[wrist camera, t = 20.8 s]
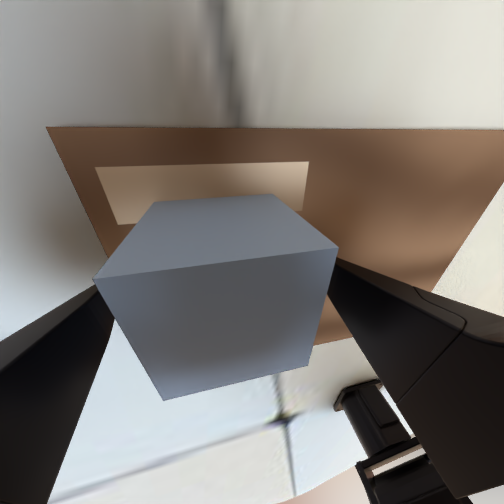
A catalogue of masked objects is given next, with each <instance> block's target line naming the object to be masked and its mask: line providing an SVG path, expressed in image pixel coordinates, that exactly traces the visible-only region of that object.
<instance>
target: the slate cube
mask: <svg viewBox="0 0 504 504" xmlns="http://www.w3.org/2000/svg"><path fill="white" fill-rule="evenodd" d="M338 249H339V247H338V246H337V245H335V244H334V243H333V242H332V241H330V240H329V239H328V238H327V237H326V236H324V235H323V234H322V233H321V232H319V231H318V230H317V229H316V228H314V227H313V226H312V225H311V224H309V223H308V222H307V221H306V220H304V219H303V218H302V217H301V216H300V215H298V214H297V213H296V212H295V211H293V210H292V209H291V208H290V207H288V206H287V205H286V204H285V203H283V202H282V201H281V200H280V199H278V198H277V197H276V196H275V195H274V194H261V195H246V196H231V197H217V198H202V199H188V200H173V201H158V202H154V203H153V204H152V205H151V206H150V208H149V209H148V210H147V211H146V213H145V214H144V215H143V216H142V218H141V219H140V220H139V221H138V223H137V224H136V225H135V226H134V228H133V229H132V230H131V231H130V233H129V234H128V235H127V236H126V238H125V239H124V240H123V241H122V243H121V244H120V245H119V246H118V248H117V249H116V250H115V251H114V253H113V254H112V255H111V256H110V258H109V259H108V260H107V261H106V263H105V264H104V265H103V266H102V268H101V269H100V270H99V271H98V273H97V274H96V275H95V276H94V278H93V279H92V280H93V281H94V283H95V285H96V287H97V288H98V290H99V292H100V293H101V295H102V297H103V299H104V300H105V302H106V304H107V305H108V307H109V309H110V311H111V312H112V314H113V316H114V317H115V319H116V321H117V323H118V324H119V326H120V328H121V329H122V331H123V333H124V335H125V336H126V338H127V340H128V341H129V343H130V345H131V346H132V348H133V350H134V352H135V353H136V355H137V357H138V358H139V360H140V362H141V364H142V365H143V367H144V369H145V370H146V372H147V374H148V376H149V377H150V379H151V381H152V382H153V384H154V386H155V388H156V389H157V391H158V393H159V394H160V396H161V398H162V400H163V401H165V400H169V399H173V398H177V397H181V396H185V395H189V394H194V393H198V392H202V391H206V390H210V389H214V388H218V387H222V386H226V385H230V384H234V383H239V382H243V381H247V380H251V379H255V378H259V377H263V376H267V375H271V374H275V373H279V372H284V371H288V370H292V369H296V368H300V367H304V366H308V363H309V359H310V355H311V351H312V348H313V344H314V340H315V336H316V332H317V329H318V325H319V321H320V317H321V314H322V310H323V306H324V302H325V298H326V295H327V291H328V287H329V283H330V280H331V276H332V272H333V268H334V264H335V261H336V257H337V253H338Z"/></svg>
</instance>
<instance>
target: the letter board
mask: <svg viewBox="0 0 504 504" xmlns="http://www.w3.org/2000/svg"><path fill="white" fill-rule="evenodd" d="M46 129H47V131H48V133H49V135H50V137H51V139H52V141H53V143H54V146H55V148H56V150H57V152H58V154H59V156H60V158H61V160H62V162H63V164H64V167H65V169H66V171H67V173H68V175H69V177H70V179H71V181H72V183H73V185H74V187H75V190H76V192H77V194H78V196H79V198H80V200H81V202H82V204H83V206H84V208H85V211H86V213H87V215H88V217H89V219H90V221H91V223H92V225H93V227H94V229H95V232H96V234H97V236H98V238H99V240H100V242H101V244H102V246H103V248H104V250H105V253H106V255H107V257H108V259H109V258H110V256H111V255H112V254H113V253H114V251H115V250H116V249H117V248H118V246H119V245H120V244H121V243H122V241H123V240H124V239H125V238H126V236H127V235H128V234H129V233H130V231H131V230H132V229H133V228H134V226H135V225H136V224H137V223H138V221H139V220H140V219H141V218H142V216H143V215H144V214H145V213H146V211H147V210H148V209H149V208H150V206H151V205H152V204H153V203H154V202H158V201H173V200H188V199H202V198H217V197H231V196H246V195H261V194H274V195H275V196H276V197H277V198H278V199H280V200H281V201H282V202H283V203H285V204H286V205H287V206H288V207H290V208H291V209H292V210H293V211H295V212H296V213H297V214H298V215H300V216H301V217H302V218H303V219H304V220H306V221H307V222H308V223H309V224H311V225H312V226H313V227H314V228H316V229H317V230H318V231H319V232H321V233H322V234H323V235H324V236H326V237H327V238H328V239H329V240H330V241H332V242H333V243H334V244H335V245H337V246H338V247H339V249H338V253H337V257H338V258H340V259H343V260H346V261H348V262H351V263H354V264H356V265H359V266H362V267H364V268H367V269H370V270H372V271H375V272H378V273H380V274H383V275H386V276H388V277H391V278H394V279H396V280H399V281H402V282H404V283H407V284H410V285H411V286H415V287H418V288H420V289H423V290H426V291H428V292H431V291H432V290H433V288H434V287H435V285H436V284H437V282H438V281H439V279H440V278H441V276H442V275H443V273H444V271H445V270H446V268H447V267H448V265H449V264H450V262H451V261H452V259H453V258H454V256H455V255H456V253H457V252H458V250H459V249H460V247H461V246H462V244H463V243H464V241H465V240H466V238H467V237H468V235H469V234H470V232H471V231H472V229H473V228H474V226H475V225H476V223H477V222H478V220H479V218H480V217H481V215H482V214H483V212H484V211H485V209H486V208H487V206H488V205H489V203H490V202H491V200H492V199H493V197H494V196H495V194H496V193H497V191H498V190H499V188H500V187H501V185H502V184H503V182H504V130H406V129H275V128H144V127H46ZM351 337H353V336H352V334H351V333H350V331H349V330H348V328H347V326H346V325H345V323H344V322H343V320H342V318H341V317H340V315H339V314H338V312H337V311H336V309H335V307H334V306H333V304H332V302H331V301H330V299H329V297H328V295H326V298H325V302H324V306H323V310H322V314H321V317H320V321H319V325H318V329H317V332H316V336H315V340H314V344H313V346H314V345H319V344H324V343H328V342H333V341H337V340H342V339H346V338H351Z"/></svg>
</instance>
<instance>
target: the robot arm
mask: <svg viewBox="0 0 504 504" xmlns="http://www.w3.org/2000/svg"><path fill="white" fill-rule="evenodd" d="M327 295H328V297H329V299H330V301H331V302H332V304H333V306H334V307H335V309H336V311H337V312H338V314H339V315H340V317H341V318H342V320H343V322H344V323H345V325H346V326H347V328H348V330H349V331H350V333H351V334H352V336H353V337H354V339H355V341H356V342H357V344H358V345H359V347H360V349H361V350H362V352H363V353H364V355H365V357H366V358H367V360H368V361H369V363H370V364H371V366H372V368H373V369H374V371H375V372H376V374H377V376H378V377H379V379H380V380H376V381H373V382H369V383H365V384H362V385H358V386H354V387H351V388H347V389H345V390H343V391H342V393H341V395H340V397H339V399H338V401H337V402H336V404H335V406H334V410H335V412H337V411H341V410H344V411H345V413H346V415H347V417H348V419H349V421H350V423H351V425H352V427H353V429H354V431H355V433H356V435H357V437H358V439H359V441H360V443H361V444H362V446H363V448H364V450H365V452H366V454H367V456H368V459H366V460H364V461H359V462H357V464H356V465H355V467H356V469H357V472H358V474H359V476H360V478H361V480H362V483H363V485H364V487H365V490H366V493H367V496H368V499H369V501H370V504H473V503H472V502H471V500H470V499H469V498H468V496H469V495H472V494H475V493H479V492H482V491H485V490H488V489H491V488H494V487H498V486H501V485H504V317H502V316H499V315H496V314H493V313H490V312H487V311H484V310H481V309H478V308H475V307H472V306H469V305H466V304H463V303H460V302H457V301H454V300H451V299H448V298H445V297H442V296H439V295H437V294H434V293H431V292H428V291H426V290H423V289H420V288H418V287H415V286H411V285H410V284H407V283H404V282H402V281H399V280H396V279H394V278H391V277H388V276H386V275H383V274H380V273H378V272H375V271H372V270H370V269H367V268H364V267H362V266H359V265H356V264H354V263H351V262H348V261H346V260H343V259H340V258H338V257H336V261H335V264H334V268H333V272H332V276H331V280H330V283H329V287H328V291H327ZM114 319H115V317H114V316H113V314H112V312H111V311H110V309H109V307H108V305H107V304H106V302H105V300H104V299H103V297H102V295H101V293H100V292H99V290H98V288H97V287H96V285H93V286H91V287H90V288H88V289H86V290H85V291H83V292H81V293H80V294H78V295H76V296H75V297H73V298H71V299H70V300H68V301H67V302H65V303H63V304H62V305H60V306H58V307H57V308H55V309H53V310H52V311H50V312H48V313H47V314H45V315H43V316H42V317H40V318H38V319H37V320H35V321H34V322H32V323H30V324H29V325H27V326H25V327H24V328H22V329H20V330H19V331H17V332H15V333H14V334H12V335H10V336H9V337H7V338H5V339H4V340H2V341H1V342H0V504H47V502H48V499H49V497H50V494H51V491H52V489H53V486H54V484H55V481H56V478H57V476H58V473H59V470H60V468H61V465H62V462H63V460H64V457H65V455H66V452H67V449H68V447H69V444H70V441H71V439H72V436H73V434H74V431H75V428H76V426H77V423H78V420H79V418H80V415H81V413H82V410H83V407H84V405H85V402H86V399H87V397H88V394H89V391H90V389H91V386H92V384H93V381H94V378H95V376H96V373H97V370H98V368H99V365H100V363H101V360H102V357H103V355H104V352H105V349H106V347H107V344H108V341H109V338H110V335H111V331H112V327H113V323H114ZM382 385H384V387H385V388H386V390H387V391H388V393H389V395H390V396H391V398H392V399H393V401H394V403H396V406H397V408H398V409H399V411H400V412H401V414H402V415H403V417H404V419H405V420H406V422H407V423H408V425H409V427H410V428H411V430H412V431H413V433H414V434H415V436H416V437H414V438H412V439H411V436H410V435H409V433H408V432H407V431H406V429H405V428H404V426H403V425H402V423H401V422H400V420H399V418H398V416H397V415H396V413H395V412H394V411H393V409H392V408H391V406H390V405H389V403H388V402H387V401H386V399H385V398H384V396H383V395H382V393H381V392H380V390H379V389H380V388H381V387H382ZM420 448H423V449H424V450H425V452H426V453H425V454H422V455H420V456H418V457H416V458H414V459H411V460H409V461H407V462H404V463H402V464H400V465H398V466H396V467H393V468H391V469H389V470H387V471H384V472H382V473H380V474H378V475H375V476H374V474H373V472H372V470H374V469H376V468H378V467H380V466H382V465H385V464H387V463H389V462H392V461H394V460H396V459H398V458H400V457H403V456H405V455H407V454H409V453H411V452H414V451H416V450H418V449H420Z"/></svg>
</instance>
